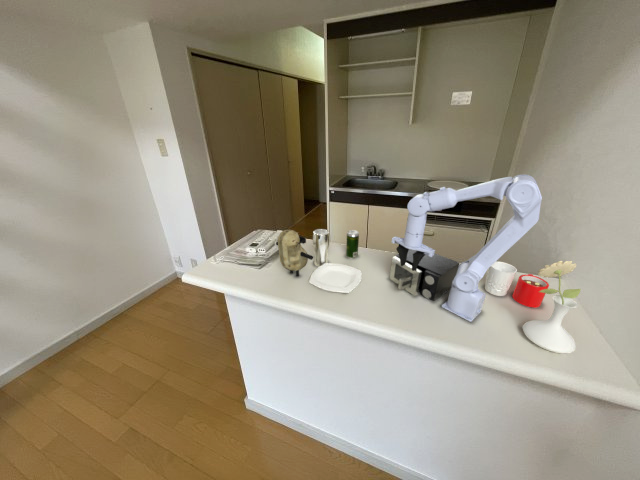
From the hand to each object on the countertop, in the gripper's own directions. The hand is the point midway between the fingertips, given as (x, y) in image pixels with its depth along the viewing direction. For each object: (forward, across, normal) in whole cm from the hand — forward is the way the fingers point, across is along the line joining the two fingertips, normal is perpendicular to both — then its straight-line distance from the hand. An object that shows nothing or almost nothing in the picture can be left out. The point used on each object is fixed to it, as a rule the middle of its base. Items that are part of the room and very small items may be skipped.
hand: (408, 267), depth 89 cm
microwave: (+10, -2, -9) cm, 13 cm away
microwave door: (+10, +2, +1) cm, 10 cm away
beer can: (+10, +30, -6) cm, 33 cm away
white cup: (+10, -23, -23) cm, 34 cm away
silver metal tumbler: (+10, +36, +8) cm, 38 cm away
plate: (+10, +22, +13) cm, 28 cm away
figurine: (+10, +36, +22) cm, 44 cm away
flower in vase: (+10, -39, -7) cm, 41 cm away
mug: (+10, -31, -27) cm, 42 cm away
